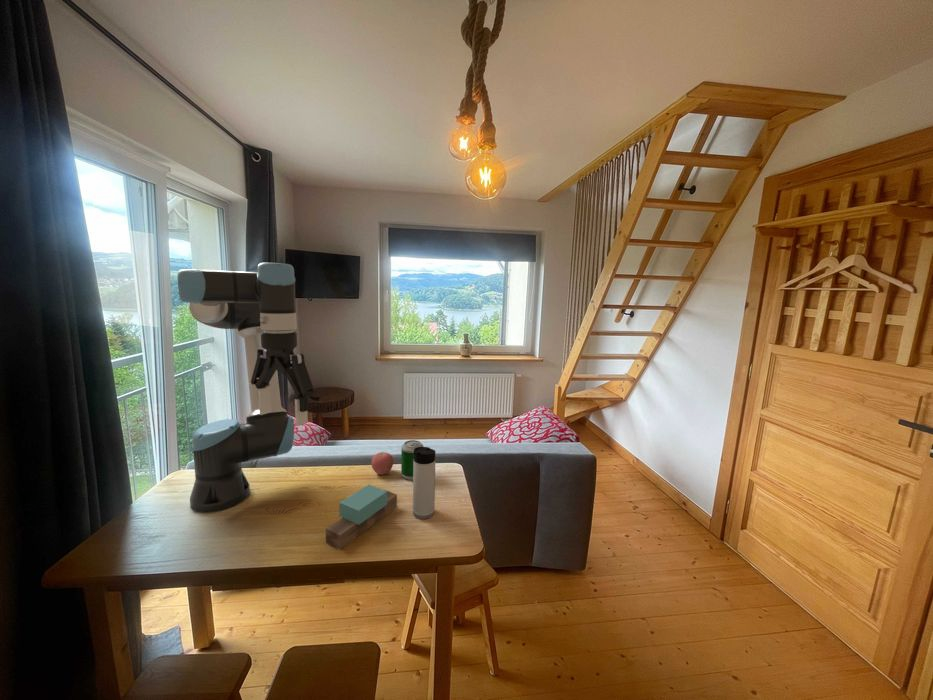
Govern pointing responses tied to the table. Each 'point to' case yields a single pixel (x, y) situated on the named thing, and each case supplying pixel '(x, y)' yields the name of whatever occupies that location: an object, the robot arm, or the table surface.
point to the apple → (382, 463)
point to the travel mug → (423, 482)
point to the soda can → (408, 458)
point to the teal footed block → (362, 504)
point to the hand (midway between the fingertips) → (283, 418)
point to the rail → (356, 525)
